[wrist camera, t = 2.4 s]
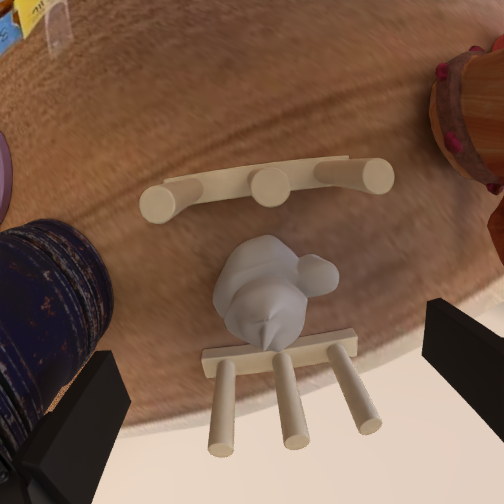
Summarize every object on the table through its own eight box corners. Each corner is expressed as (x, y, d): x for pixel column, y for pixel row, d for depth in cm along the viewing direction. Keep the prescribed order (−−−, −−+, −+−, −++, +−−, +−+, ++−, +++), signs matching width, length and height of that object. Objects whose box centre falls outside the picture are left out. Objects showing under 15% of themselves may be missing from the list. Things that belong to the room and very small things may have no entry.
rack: (168, 178, 17) (108, 188, 9) (342, 155, 17) (415, 150, 9) (207, 368, 20) (193, 461, 12) (351, 346, 20) (396, 429, 12)
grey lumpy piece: (201, 248, 18) (172, 307, 10) (310, 211, 18) (359, 245, 10) (233, 327, 19) (229, 416, 12) (333, 294, 19) (382, 367, 11)
